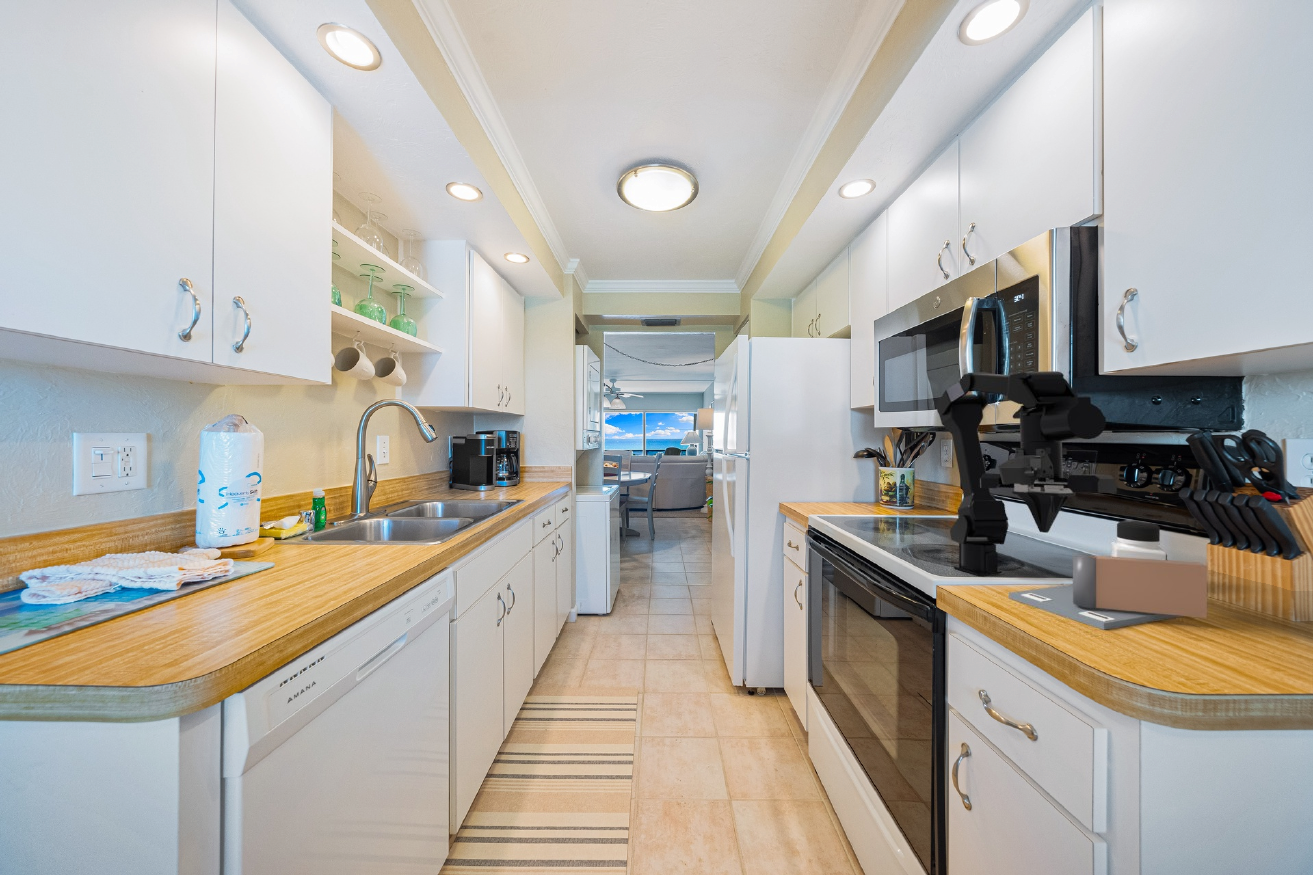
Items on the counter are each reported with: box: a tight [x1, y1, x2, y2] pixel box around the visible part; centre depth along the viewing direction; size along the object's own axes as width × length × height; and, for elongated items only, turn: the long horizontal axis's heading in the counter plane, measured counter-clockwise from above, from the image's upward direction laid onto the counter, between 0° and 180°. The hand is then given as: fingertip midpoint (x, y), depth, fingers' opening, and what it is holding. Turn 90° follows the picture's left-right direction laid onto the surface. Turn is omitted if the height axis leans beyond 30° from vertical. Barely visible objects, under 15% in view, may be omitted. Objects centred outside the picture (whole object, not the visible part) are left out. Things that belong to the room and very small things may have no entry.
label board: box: [1008, 583, 1182, 631], centre depth 85 cm, size 15×20×1 cm
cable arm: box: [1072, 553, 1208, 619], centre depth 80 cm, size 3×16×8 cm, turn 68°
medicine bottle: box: [1110, 520, 1168, 560], centre depth 98 cm, size 7×7×12 cm
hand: (1044, 532), depth 87 cm, fingers closed
